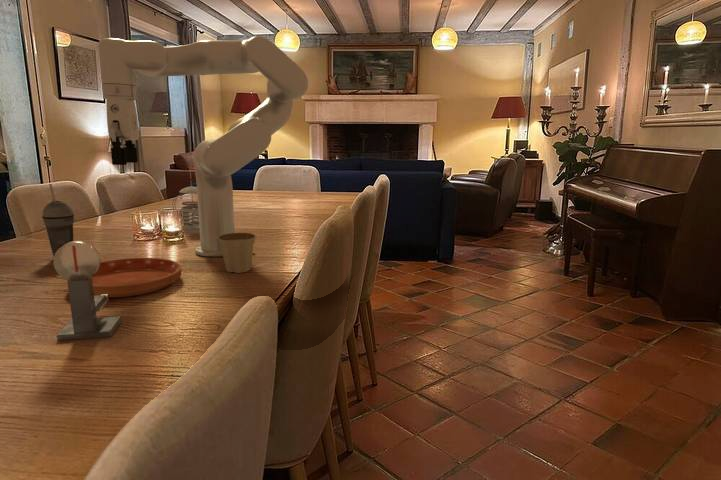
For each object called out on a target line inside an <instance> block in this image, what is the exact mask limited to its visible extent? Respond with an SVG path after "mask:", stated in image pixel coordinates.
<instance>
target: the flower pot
mask: <svg viewBox="0 0 721 480" xmlns="http://www.w3.org/2000/svg"><path fill="white" fill-rule="evenodd" d="M256 238H257V235H256V234H255V233H251V232H235V233H228V234H223V235H220V236H218V237H217V239H218V240H219V244H220V245H221V248H222V253H223V256H222V257H223V262H224V266H225V271H226V272H227V273H235V274H241V273H246V272H249V271H250V270H252V268H253V267H252V265H253V257H254V256H253V254H254V245H255V243H256Z"/></svg>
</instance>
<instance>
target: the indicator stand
mask: <svg viewBox="0 0 721 480" xmlns="http://www.w3.org/2000/svg"><path fill="white" fill-rule="evenodd" d="M101 262H102V261H101V255H100V253H99V251H98V249H97V248H96V247H95V246H94V245H92V244H90V243H89V242H87V241H83V240H73V241H72V242H69V243H67V244H65V245H63V246H62V247H60V248H59V249H58V250H57V251H56V253H55V255H54V257H53V261H52V263H53V267H54V269H55V271H56V273H57V274H58V275H60V277H62V278H63V279H64V280H66V283H67V288H68V289H67V290H68V297H69V305H70V310H71V311H70V312H71V313H70V314H71V319H70V320H69V322H68V323H66V325H65V326H64V327H63V328H62V329H61V330H60V331H59V332H57V334H56V340H57V342H59V341H58V340H63V341H74V340H86V339H87V340H88V339H100V338H111V337H112V336H113V335H114V333H115V332H116V330H117V329H118V328H119V326H120V324H121V322H122V316H120V315H119V316H118V315H117V316H105V317H97V312H99V311H98V309H99V308H100V307H101V306H102V305H103V304H104V302H105V301H106V295H96V296H94V291H93V283H92V277H91V276H93V275H94V274H95V273H96V272H97V271H98V269H99V267H100V263H101ZM67 280H68V281H67Z"/></svg>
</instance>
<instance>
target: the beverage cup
mask: <svg viewBox="0 0 721 480" xmlns="http://www.w3.org/2000/svg"><path fill="white" fill-rule="evenodd" d="M48 185H49V189H50V193H51V197H52V201H50V202H48V203H46V204H45V206H44V208H43V210H42V216H41V217H42V219H43V220H42V221H43V223H44V226H45V228H46V232H47V237H48V241H49V246H50V249H51V254H52V256H53V258H54V255H55V253H56V251H57V250H58V249H59V248H60V247H62V246H63V245H65V244H67V243H69V242H72V241H74V223H75V214H74V211H73V209H72V207H71V206H70V205H69V204H68V203H67V202H65V201H62V200H56V197H55V193H54V189H53V185H52V183H49V184H48Z"/></svg>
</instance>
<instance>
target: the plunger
mask: <svg viewBox="0 0 721 480" xmlns="http://www.w3.org/2000/svg"><path fill="white" fill-rule="evenodd" d="M101 295H106V301H105V302H104V304H103V305H102V306H101V307H100V308H99V309H98V311H97V312H100V311H101V310H102V309H103V307H104V306H105V305H106V304H107V303H108V301H109V298H110V297H108V294H101Z"/></svg>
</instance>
